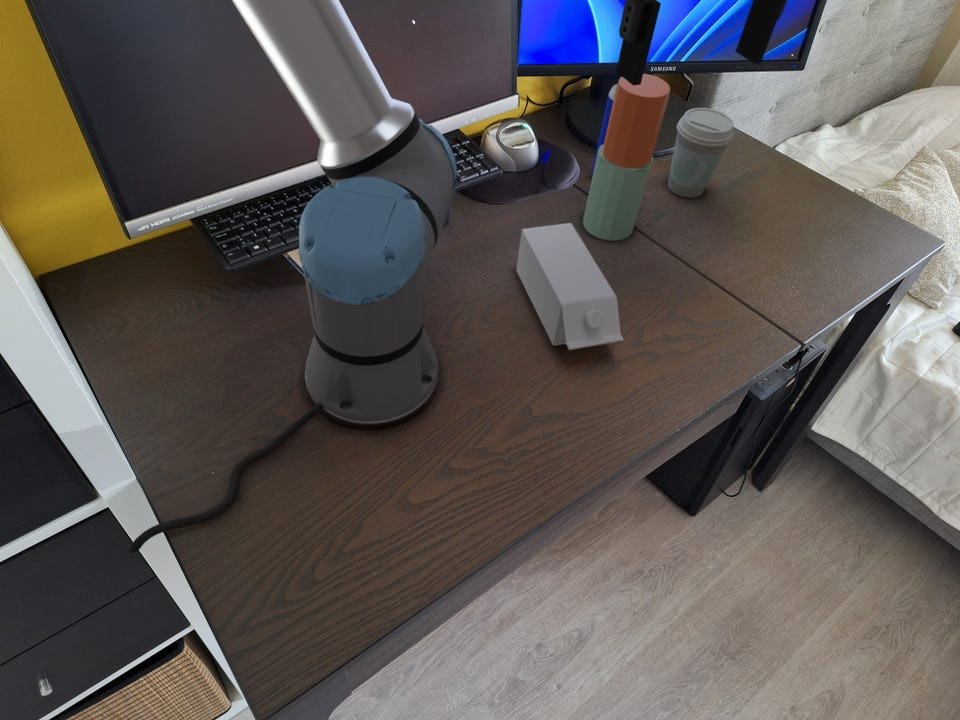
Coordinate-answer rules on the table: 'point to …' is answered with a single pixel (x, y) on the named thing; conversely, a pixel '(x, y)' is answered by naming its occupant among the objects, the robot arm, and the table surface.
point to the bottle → (614, 199)
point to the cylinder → (635, 121)
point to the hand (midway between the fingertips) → (690, 67)
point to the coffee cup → (698, 150)
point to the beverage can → (605, 121)
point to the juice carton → (567, 287)
